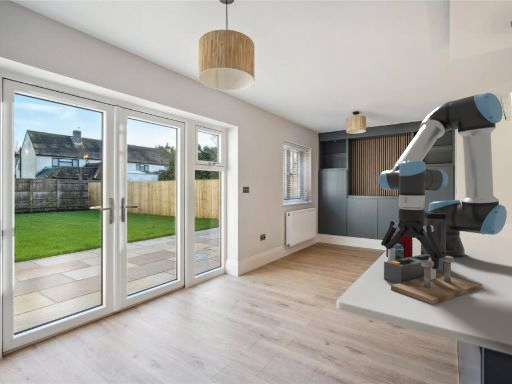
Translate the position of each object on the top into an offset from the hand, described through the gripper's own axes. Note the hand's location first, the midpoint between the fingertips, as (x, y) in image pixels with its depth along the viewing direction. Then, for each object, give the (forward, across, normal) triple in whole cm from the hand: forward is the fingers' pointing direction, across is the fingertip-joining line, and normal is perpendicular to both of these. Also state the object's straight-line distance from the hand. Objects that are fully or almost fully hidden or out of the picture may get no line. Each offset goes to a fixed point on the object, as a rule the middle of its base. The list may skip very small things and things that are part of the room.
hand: (410, 273), depth 93 cm
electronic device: (+1, -4, +19) cm, 19 cm away
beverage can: (+1, -10, +10) cm, 14 cm away
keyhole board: (+1, +10, -3) cm, 11 cm away
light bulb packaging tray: (+1, 0, +2) cm, 2 cm away
